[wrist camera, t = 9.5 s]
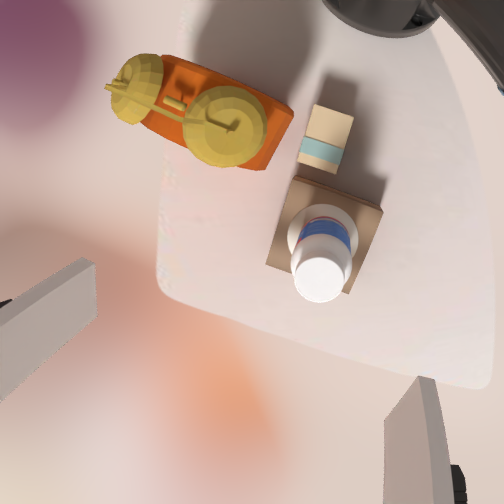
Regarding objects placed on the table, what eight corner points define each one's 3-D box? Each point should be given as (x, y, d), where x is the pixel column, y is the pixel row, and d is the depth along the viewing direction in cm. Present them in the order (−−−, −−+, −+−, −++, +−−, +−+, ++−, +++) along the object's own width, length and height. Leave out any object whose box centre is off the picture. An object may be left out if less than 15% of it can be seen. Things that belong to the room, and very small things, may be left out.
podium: (295, 175, 35) (292, 179, 32) (379, 206, 34) (383, 212, 31) (270, 254, 39) (265, 264, 36) (348, 282, 38) (348, 294, 35)
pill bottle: (296, 216, 33) (281, 247, 24) (348, 213, 32) (352, 243, 23) (301, 265, 35) (288, 310, 26) (350, 263, 34) (353, 308, 25)
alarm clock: (305, 116, 32) (268, 92, 14) (279, 164, 35) (214, 197, 17) (203, 69, 33) (87, 28, 15) (181, 114, 35) (56, 111, 17)
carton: (316, 107, 32) (313, 103, 28) (352, 119, 31) (354, 117, 27) (300, 158, 34) (296, 161, 30) (336, 170, 34) (336, 174, 30)
